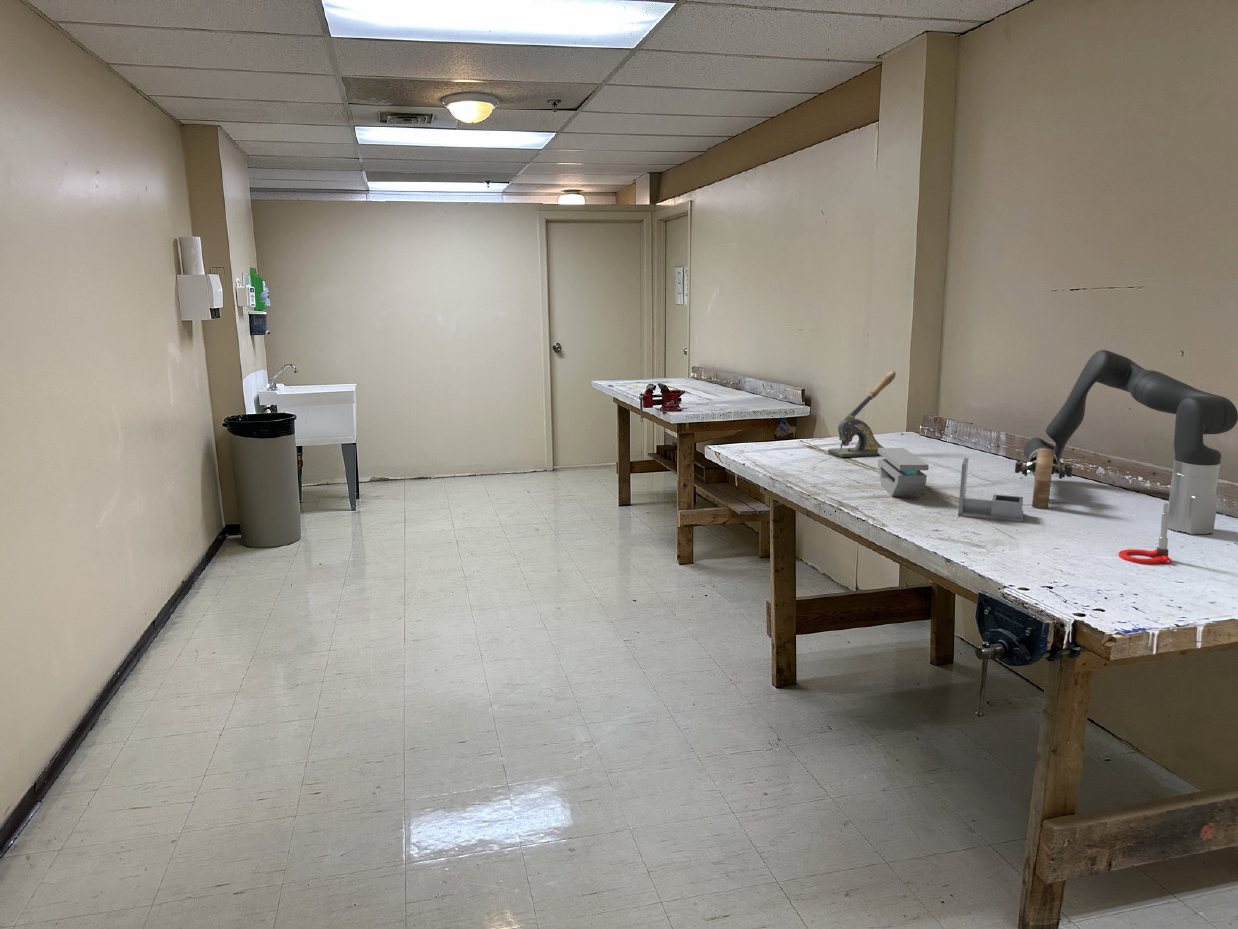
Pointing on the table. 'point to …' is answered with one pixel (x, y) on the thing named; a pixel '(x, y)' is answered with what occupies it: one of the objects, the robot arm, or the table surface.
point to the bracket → (989, 503)
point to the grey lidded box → (901, 472)
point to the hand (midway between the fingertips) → (1043, 473)
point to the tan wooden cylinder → (1042, 478)
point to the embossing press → (860, 427)
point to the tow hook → (1158, 553)
